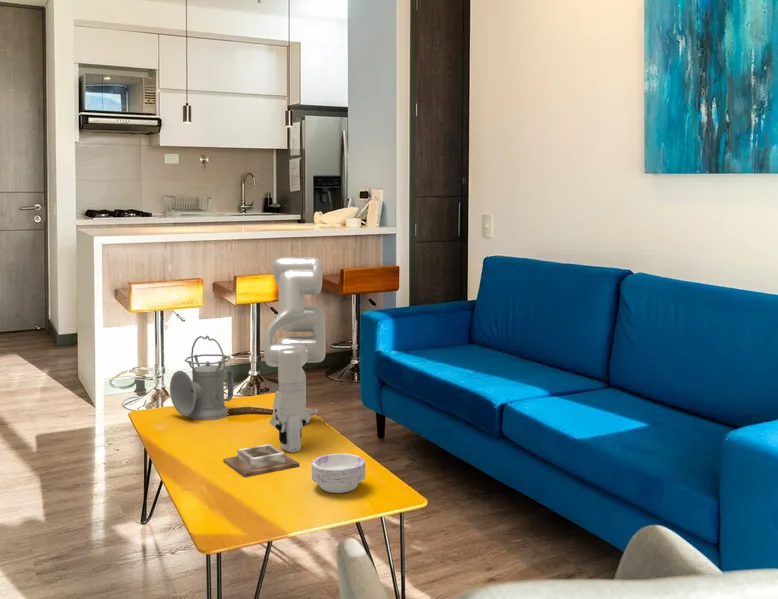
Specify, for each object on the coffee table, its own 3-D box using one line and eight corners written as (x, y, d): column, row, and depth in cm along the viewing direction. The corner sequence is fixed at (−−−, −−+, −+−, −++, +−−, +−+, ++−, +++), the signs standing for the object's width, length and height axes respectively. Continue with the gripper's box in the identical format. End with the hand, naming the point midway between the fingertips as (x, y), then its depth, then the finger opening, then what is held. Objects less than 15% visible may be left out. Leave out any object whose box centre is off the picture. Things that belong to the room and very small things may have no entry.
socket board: (276, 452, 261) (276, 440, 260) (299, 466, 247) (299, 453, 247) (223, 461, 251) (223, 449, 250) (244, 477, 238) (244, 463, 237)
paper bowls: (314, 478, 238) (314, 451, 237) (366, 479, 237) (367, 452, 236) (308, 497, 222) (308, 469, 221) (363, 498, 222) (363, 470, 221)
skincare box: (301, 450, 262) (301, 414, 261) (289, 453, 260) (289, 416, 258) (291, 446, 267) (291, 410, 266) (279, 448, 264) (279, 412, 263)
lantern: (167, 414, 303) (165, 335, 299) (216, 404, 319) (214, 328, 315) (199, 426, 289) (197, 343, 285) (249, 414, 305) (248, 335, 301)
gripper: (308, 381, 268) (308, 435, 271) (260, 387, 259) (261, 443, 261) (318, 385, 262) (319, 440, 265) (271, 392, 253) (271, 449, 255)
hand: (290, 441), depth 263 cm, fingers closed on skincare box, 4 cm apart
